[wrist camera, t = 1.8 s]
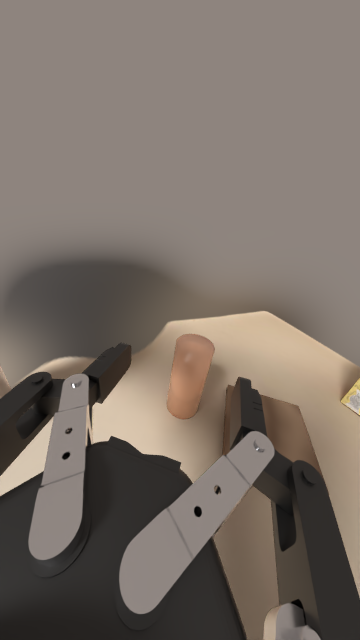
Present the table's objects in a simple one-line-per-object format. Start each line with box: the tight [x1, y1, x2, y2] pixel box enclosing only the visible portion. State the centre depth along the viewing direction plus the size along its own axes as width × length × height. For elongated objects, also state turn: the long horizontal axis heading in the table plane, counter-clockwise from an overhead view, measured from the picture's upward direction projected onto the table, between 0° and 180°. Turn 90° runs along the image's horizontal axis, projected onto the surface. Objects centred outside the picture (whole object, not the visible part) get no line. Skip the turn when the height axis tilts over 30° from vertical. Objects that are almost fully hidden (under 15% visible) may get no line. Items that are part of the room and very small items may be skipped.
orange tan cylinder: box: [167, 334, 215, 419], centre depth 29 cm, size 6×6×13 cm
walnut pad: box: [223, 385, 329, 495], centre depth 30 cm, size 13×13×1 cm
